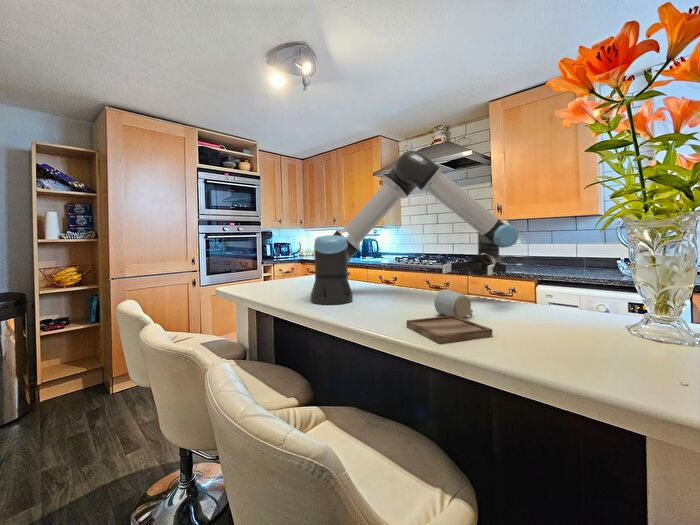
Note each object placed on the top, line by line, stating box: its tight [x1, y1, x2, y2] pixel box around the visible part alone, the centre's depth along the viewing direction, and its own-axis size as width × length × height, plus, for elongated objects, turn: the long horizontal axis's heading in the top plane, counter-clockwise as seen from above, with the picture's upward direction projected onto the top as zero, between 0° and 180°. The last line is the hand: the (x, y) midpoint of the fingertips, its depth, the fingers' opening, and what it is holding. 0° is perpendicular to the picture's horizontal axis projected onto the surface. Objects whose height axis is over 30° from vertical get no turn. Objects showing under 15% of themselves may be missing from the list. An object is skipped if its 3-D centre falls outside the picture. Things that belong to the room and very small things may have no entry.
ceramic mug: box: [434, 289, 474, 319], centre depth 91 cm, size 10×8×7 cm
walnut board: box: [406, 315, 493, 345], centre depth 76 cm, size 14×14×2 cm
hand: (465, 269), depth 98 cm, fingers open, 13 cm apart
